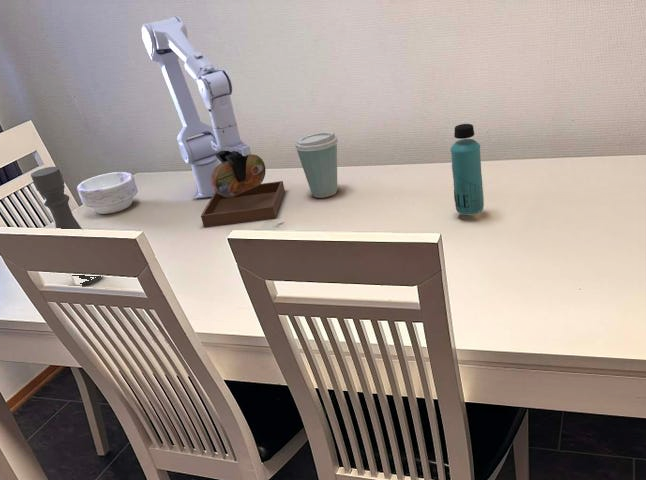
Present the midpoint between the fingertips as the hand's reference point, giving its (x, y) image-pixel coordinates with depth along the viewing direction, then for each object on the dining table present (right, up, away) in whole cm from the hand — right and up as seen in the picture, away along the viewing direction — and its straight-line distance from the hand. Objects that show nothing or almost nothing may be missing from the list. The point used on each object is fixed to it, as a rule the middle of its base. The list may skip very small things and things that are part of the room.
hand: (238, 179), depth 177 cm
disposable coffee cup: (+22, -2, +6) cm, 22 cm away
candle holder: (-30, -27, -19) cm, 45 cm away
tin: (0, -2, +2) cm, 3 cm away
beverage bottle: (+55, -13, -20) cm, 60 cm away
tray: (+1, -6, +4) cm, 8 cm away
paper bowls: (-38, -3, +20) cm, 44 cm away
